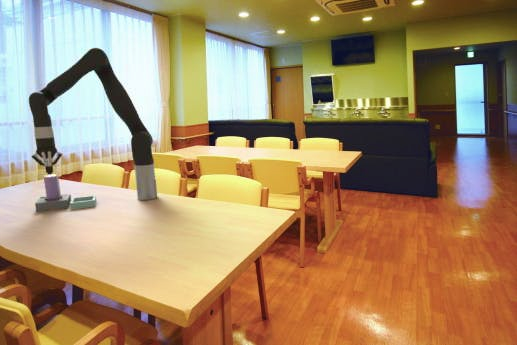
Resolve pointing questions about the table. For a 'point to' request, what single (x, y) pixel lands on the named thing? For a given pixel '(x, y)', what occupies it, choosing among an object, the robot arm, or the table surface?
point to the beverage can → (52, 187)
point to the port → (53, 203)
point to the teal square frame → (83, 202)
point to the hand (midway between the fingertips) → (50, 173)
